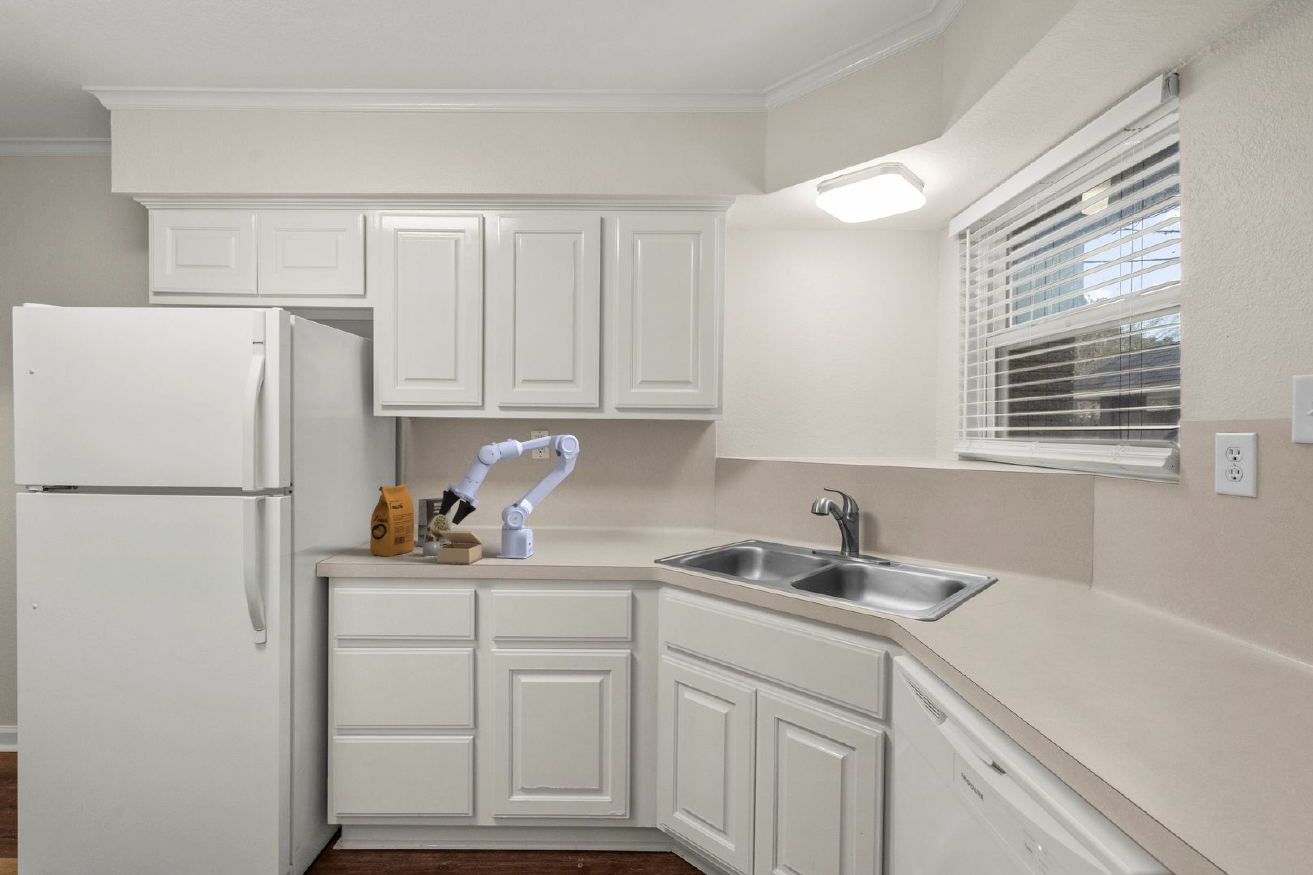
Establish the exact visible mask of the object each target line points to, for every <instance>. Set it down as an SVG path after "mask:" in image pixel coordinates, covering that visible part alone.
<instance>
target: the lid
mask: <svg viewBox="0 0 1313 875" xmlns="http://www.w3.org/2000/svg"><path fill="white" fill-rule="evenodd" d="M439 533H440V534H441V535H443V536H444V537H445V538H446V539H447V540H448V541H450V544H451V543H461V544H482V545H483V544H484V543H483V541H482V540H481V539H480V538H479V537H478V536H477V535H476V534H475V533H474V532H473V531H470V530H450V531H441V530H439Z"/></svg>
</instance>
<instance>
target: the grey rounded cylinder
mask: <svg viewBox="0 0 1313 875" xmlns="http://www.w3.org/2000/svg"><path fill="white" fill-rule="evenodd" d="M440 547H441V546H440V542H425V543H423V546H422V557H424V556H434V557H437V548H440Z"/></svg>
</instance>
